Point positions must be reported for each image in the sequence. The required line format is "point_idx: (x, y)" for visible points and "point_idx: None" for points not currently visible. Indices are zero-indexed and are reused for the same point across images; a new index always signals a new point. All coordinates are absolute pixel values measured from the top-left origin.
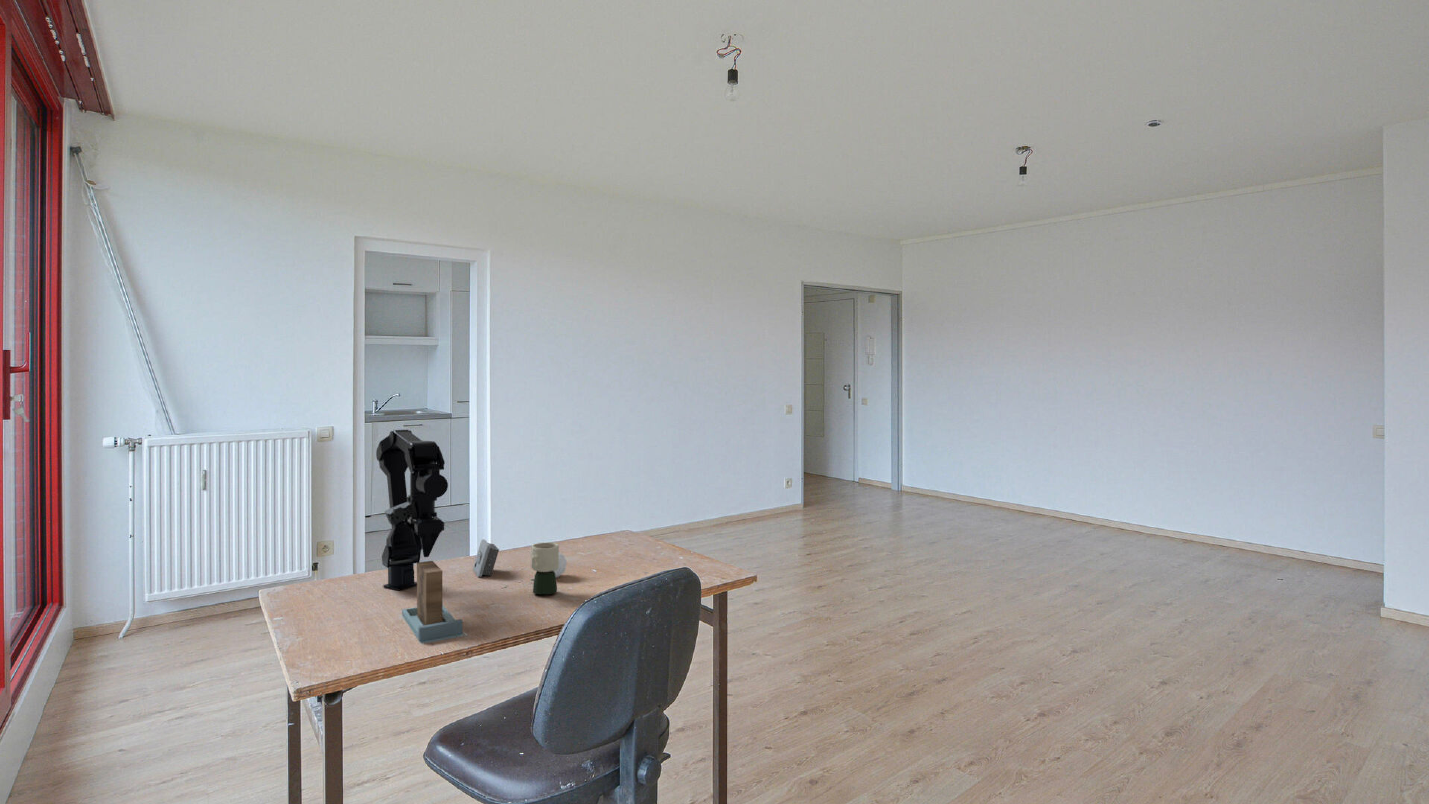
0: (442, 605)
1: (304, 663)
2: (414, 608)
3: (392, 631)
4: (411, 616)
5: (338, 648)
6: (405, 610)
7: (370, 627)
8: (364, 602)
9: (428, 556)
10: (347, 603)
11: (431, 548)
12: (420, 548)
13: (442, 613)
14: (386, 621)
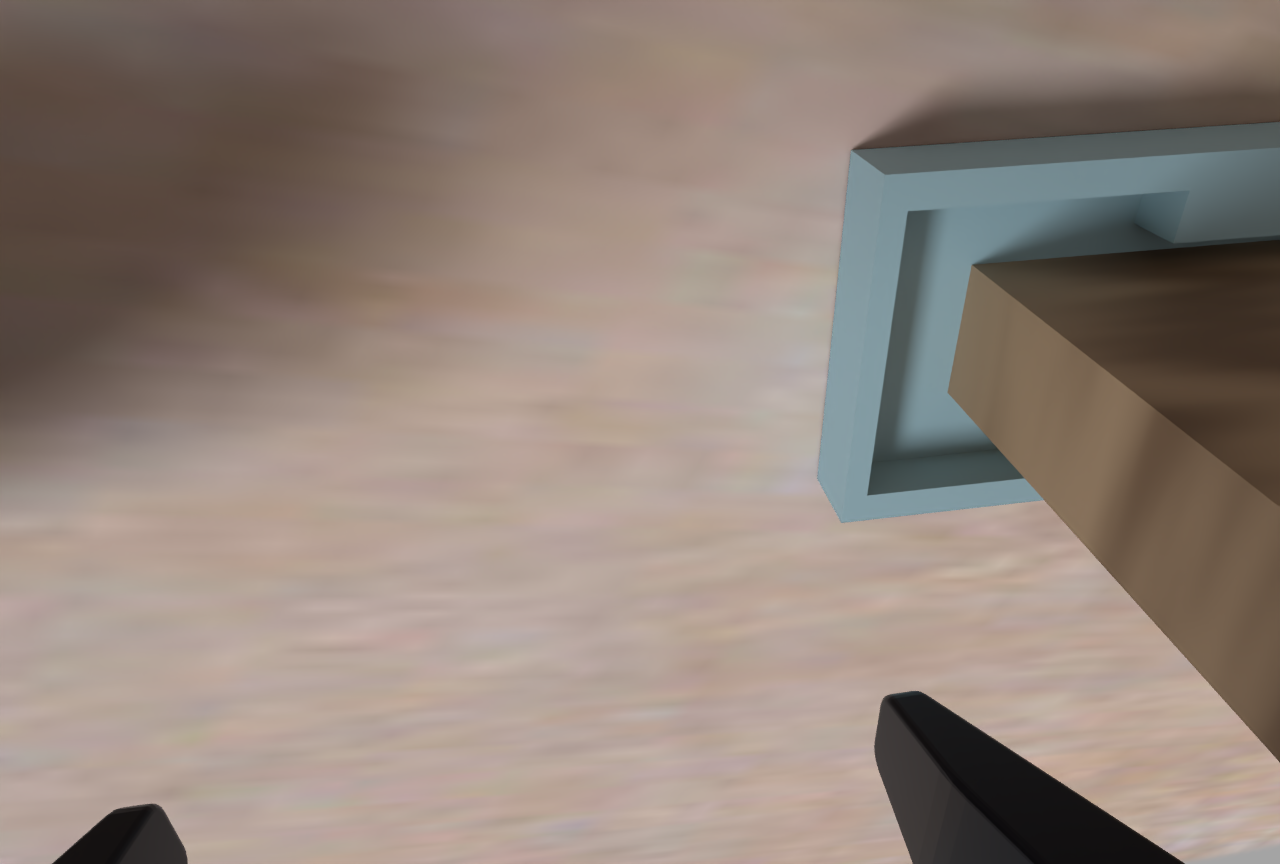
0: (971, 175)
1: (1181, 838)
2: (874, 431)
3: (1066, 541)
4: (905, 429)
5: (1111, 756)
6: (888, 500)
7: (889, 648)
8: (249, 697)
9: (923, 696)
10: (239, 782)
11: (1110, 835)
12: (156, 855)
13: (1214, 219)
14: (830, 570)
